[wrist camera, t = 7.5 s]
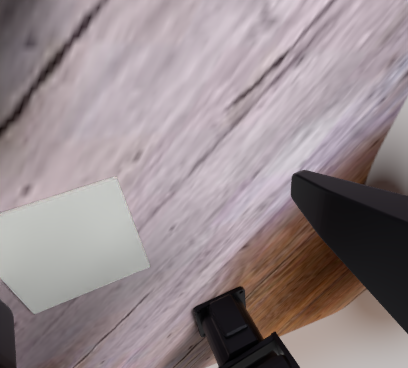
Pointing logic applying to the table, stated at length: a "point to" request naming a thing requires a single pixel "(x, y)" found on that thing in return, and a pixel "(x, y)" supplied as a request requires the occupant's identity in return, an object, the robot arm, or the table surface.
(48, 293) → the mat
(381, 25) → the table surface
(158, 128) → the table surface
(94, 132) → the table surface
